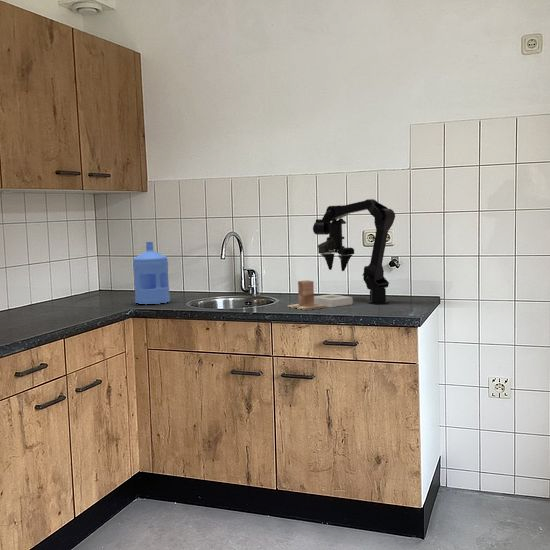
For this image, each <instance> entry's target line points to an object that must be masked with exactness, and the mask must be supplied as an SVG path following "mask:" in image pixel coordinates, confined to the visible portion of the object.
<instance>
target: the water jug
mask: <svg viewBox="0 0 550 550" xmlns="http://www.w3.org/2000/svg"><path fill="white" fill-rule="evenodd" d="M153 243H154V241H146V242H145V245H146V246H145V247H146V249H145V251H144V252H143V253H140V254H139V255H137V256H136V257H134V258H133V259H132V267H133V278H134V281H133V283H134V284H133V285H134V296H135V298H134V302H135V304H136V303H139V304H159V305H161V304H160V303H165V304H168V303H170V301H171V297H170V286H169V260H168V257H167V256H166V255H164V254H162V253H160V252H157V251H155V250H154V245H153ZM167 302H168V303H167Z"/></svg>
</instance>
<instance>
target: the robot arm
mask: <svg viewBox="0 0 550 550" xmlns="http://www.w3.org/2000/svg"><path fill="white" fill-rule="evenodd" d="M362 211H368V213H369V214H370V215H371V216H373V218H374V226H375V236H374V241H373V246H372V252H371V256H370V261H369V262H370V263H369V264H368V265H365V266H363V274H362V276H363V278H362V279H363V281H364V283H365V285H366V288H367V290H369V301H367V303H368V304H374V305H380V304H382V305H383V304H388V303H389V301H387V295H386V294H387V292H386V289H387V288H388V287H389V284H390V282H389V281H388V280H387V279H386V277H385V275H384V267H383V260H384V256H385V255H384V254H385V250H386V244H387V238H388V235H389V234H388V233H389V231H390V229H391V227H392V226H393V224H394V222H395V218H396V212H394V209H391V208H388V207H387V206H385V205H383V204H382V203H380V202H378V201H377V200H376V199H373V198H371V199H365V200H362V201H357V202H353V203H348V204H343V205H342V204H341V205H329V206H327V208H326V210H325V213H324V214H323V216H322V218H321V219H320V218H319V219H315V222H314V224H313V227H312V232H313V234H314V235H320V236H321V235H326V236H327V237H326V241H324V242H321V243H320V244H318V245H317V248H318V254H319V255H320V256H322V257H323V258H324V260H325V262H326V265H327V268H328V271H331V270H332V269H333V266H334V261H335V260H334V258H335V253H336V254H338V255H337V256H338V258H339V260H340V266H341V272H345V269H346V268H347V266H348V263H349V261H350V259H351V258H352V257H353V255H355V248H353V247H346V246H345V245H343V240H345V236H343V225H345V224H347V222H346V221H345V220H344V219H343V218H345V217H347V216H348V215H350V214H353V213H359V212H362Z"/></svg>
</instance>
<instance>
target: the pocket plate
mask: <svg viewBox="0 0 550 550" xmlns="http://www.w3.org/2000/svg"><path fill="white" fill-rule="evenodd" d="M353 298H354V297H353V296H348V295H347V296H346V295H340V294H333V293H331V294H323V295H316V296H315V295H314V304H318V305H324V306H326V307H329V308H335V307H336V308H337V307H344V306H350V305H354V304H353V300H354V299H353Z"/></svg>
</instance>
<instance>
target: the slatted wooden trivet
mask: <svg viewBox="0 0 550 550" xmlns="http://www.w3.org/2000/svg"><path fill="white" fill-rule="evenodd" d="M289 307H291V309H295V308H297V309H296V310H300V309H302V310H301V311H305V310H306V311H313V310H312V309H314V310H319V309H320V308H321V309H326V307H327V306H324V305H318V304H314V306H307V307H304V306H299V303H295V304H288V305H287V308H289Z"/></svg>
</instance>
